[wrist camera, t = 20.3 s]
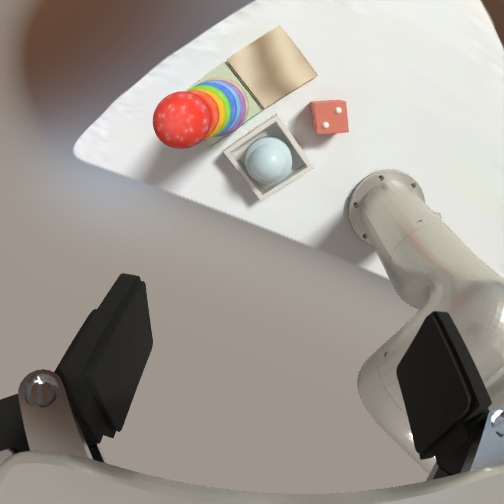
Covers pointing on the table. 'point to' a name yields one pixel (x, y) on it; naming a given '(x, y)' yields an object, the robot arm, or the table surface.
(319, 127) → the die
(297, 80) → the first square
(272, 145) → the dome
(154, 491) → the robot arm
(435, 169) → the table surface
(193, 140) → the stacking toy
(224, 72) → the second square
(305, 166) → the popper housing
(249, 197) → the table surface
